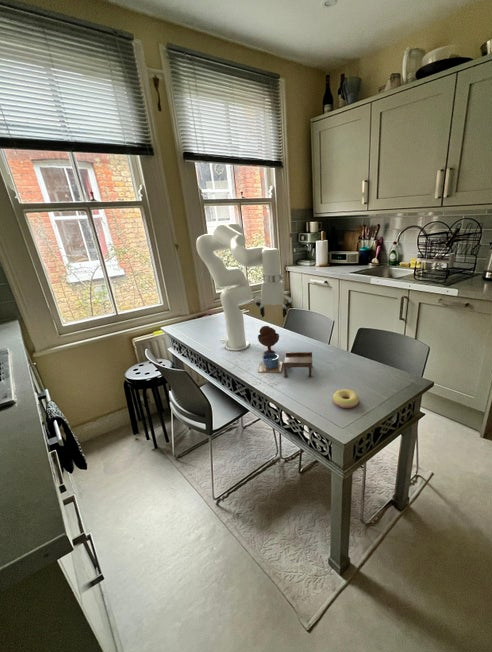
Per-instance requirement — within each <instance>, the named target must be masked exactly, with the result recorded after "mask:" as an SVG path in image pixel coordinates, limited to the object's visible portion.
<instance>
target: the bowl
mask: <svg viewBox="0 0 492 652" xmlns="http://www.w3.org/2000/svg"><path fill="white" fill-rule="evenodd" d="M261 358H262V362H263V363H264V367H265V369H269V370H272V369H276V368H277V367H278V362H280V356H279V355H278V354H277V353H275V354H274V353H269V354H264V355H262V357H261Z"/></svg>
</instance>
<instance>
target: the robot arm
mask: <svg viewBox="0 0 492 652" xmlns="http://www.w3.org/2000/svg"><path fill="white" fill-rule="evenodd" d="M195 245H196V246H195V247H196V251H197V254H198V255H199V258H200V259H201V260H202V262H203V264H204V265H205V266H206V268H207V269H208V272H209V274H210V275H211V277H212V280H213V281H214V283H215V286H216V287H217V288H219V289H224V290H222V292H221V293H220V295H219V296H220V297H219V300H220V303H221V306H222V309H223V314H224V321H225V331H226V336H227V338H220V343H221V344H223V345H225V349H226V350H228V351H234V352H235V351H236V352H237V351H242V350H245V349H248V347H250V343H249V341H248V340H246V339H247V338H246V330H245V321H244V313H243V312H242V310H241V309H240V307H239V306H243V305H246V304H249V303H251V302H252V301H254V303H255V305H256V306H257V307H258V309H259V310H260V311H259V313H260V316H261V318H264V317H265V315H266V314H265V306H281V307H282V318H286V316H287V315H288V314H287V313H288V311H287V308H288V307H289V306H290V305H291V303H292V301H293V297H291V296H289V295H287V294H285V286H284V282H283V280H284V279H285V275H282V274H281V253H280V250H279V249H278V248H276V247H268V246H255V247H248V248H246V247H245V246H246V237H245V235H244V230H243V227H242V226H241V225H240V224H239V223H236V222H227V223H220V224H217V225H215V226H214V228H213V230H212V233H205V234H202V235H200V236H198V237H197V239H196V241H195ZM224 250H225V251H226V250H230V254H231V256H232V257H233V259H234V261H236V262H237V263H238V264H240V265H242V266H244V267H246V268H251V267H257V266H262V281H261V286H260V287H261V288H260V294H259V295H257V296H255V297H254V292H253V290H252V287H251V285H250V283H249V282H248V280H247V278H246V276H245V273H244V272H243V270H241V269H240V268H239V267H237V266H231V267H227V266H226V265H225V263H224V260H223V259H222V258H221V257H220V256H219V255H218V254H217V253H215V252H218V251H224ZM259 300H260V301H259ZM285 300H287V302H286V301H285Z"/></svg>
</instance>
